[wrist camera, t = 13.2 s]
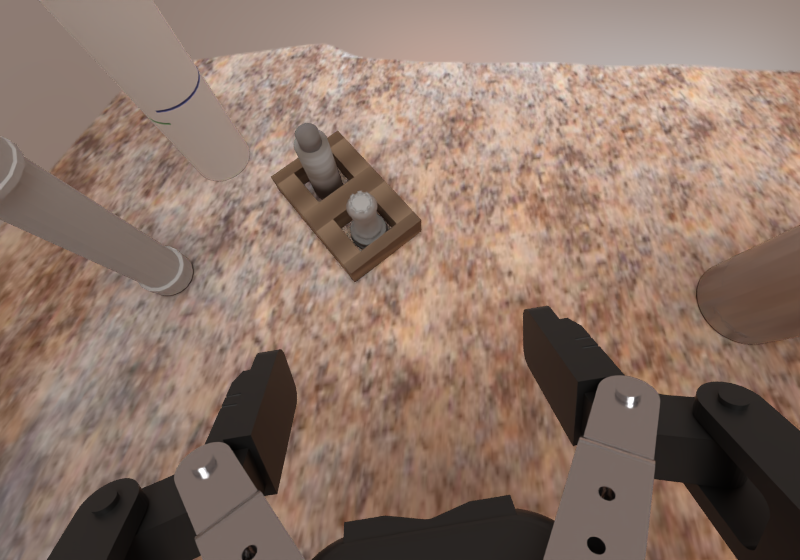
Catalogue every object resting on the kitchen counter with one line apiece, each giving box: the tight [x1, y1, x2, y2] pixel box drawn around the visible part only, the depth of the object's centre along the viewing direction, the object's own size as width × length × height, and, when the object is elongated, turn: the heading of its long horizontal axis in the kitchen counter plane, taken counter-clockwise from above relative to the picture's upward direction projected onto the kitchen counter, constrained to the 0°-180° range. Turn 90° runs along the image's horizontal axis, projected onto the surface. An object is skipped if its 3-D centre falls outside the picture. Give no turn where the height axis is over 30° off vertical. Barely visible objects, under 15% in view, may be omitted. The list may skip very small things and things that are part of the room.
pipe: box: [0, 136, 193, 295], centre depth 34 cm, size 6×6×30 cm
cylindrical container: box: [39, 0, 250, 181], centre depth 41 cm, size 7×7×25 cm
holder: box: [271, 123, 421, 282], centre depth 44 cm, size 16×10×11 cm, turn 39°
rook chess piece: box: [346, 191, 388, 249], centre depth 44 cm, size 4×4×8 cm
